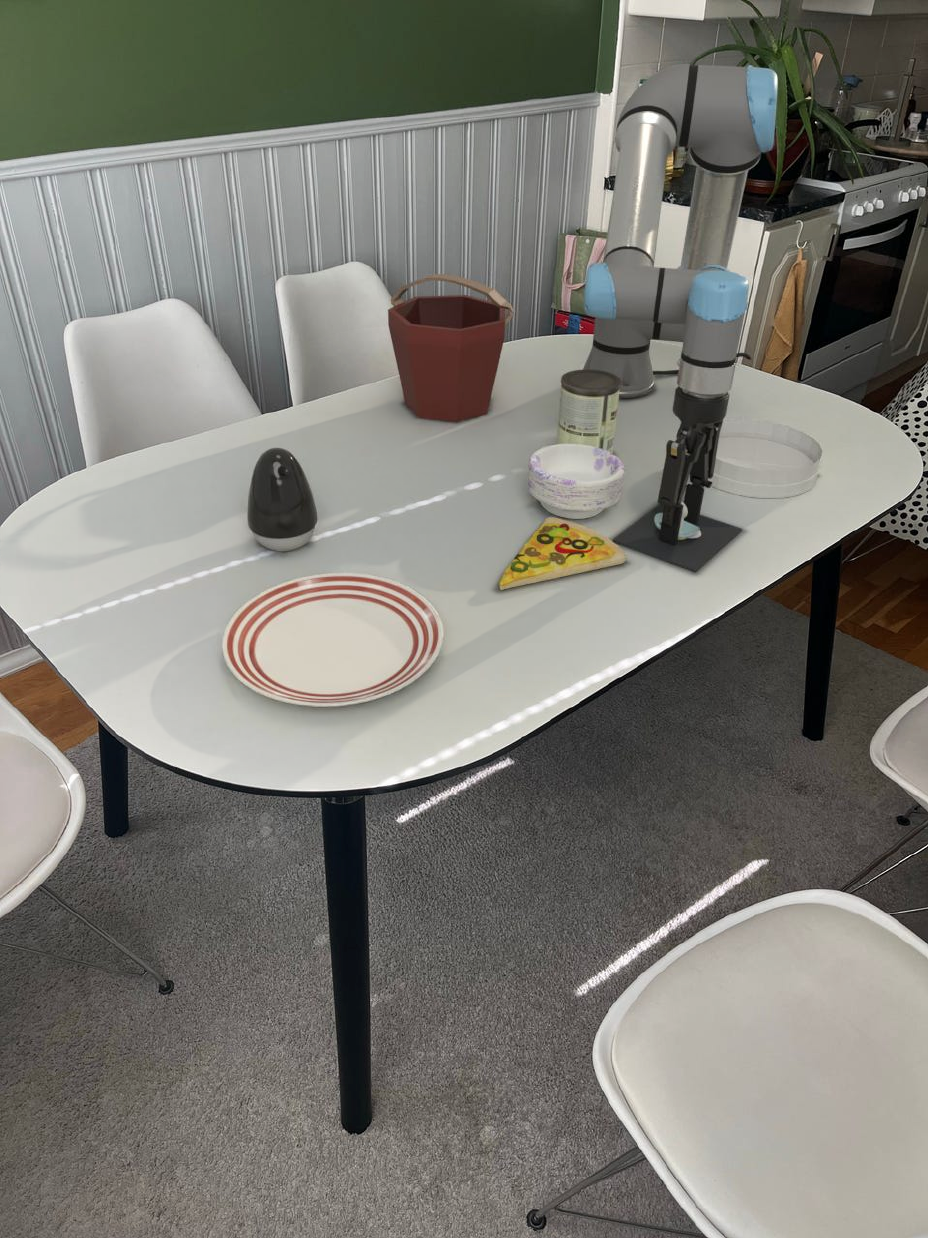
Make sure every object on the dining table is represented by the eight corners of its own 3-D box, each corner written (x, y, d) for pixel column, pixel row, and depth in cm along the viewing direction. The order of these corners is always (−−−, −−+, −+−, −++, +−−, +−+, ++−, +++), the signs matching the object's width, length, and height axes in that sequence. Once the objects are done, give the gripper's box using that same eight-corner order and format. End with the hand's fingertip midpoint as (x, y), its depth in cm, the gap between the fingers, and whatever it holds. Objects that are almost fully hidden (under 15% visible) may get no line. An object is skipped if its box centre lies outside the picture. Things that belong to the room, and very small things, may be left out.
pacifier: (670, 519, 150) (647, 530, 146) (677, 483, 146) (653, 494, 143) (709, 537, 146) (686, 548, 142) (717, 500, 142) (693, 511, 139)
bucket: (530, 407, 188) (538, 278, 174) (457, 440, 174) (460, 303, 160) (438, 376, 201) (439, 254, 187) (364, 405, 187) (359, 275, 173)
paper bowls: (637, 506, 154) (644, 461, 150) (581, 538, 145) (586, 492, 140) (564, 476, 162) (568, 433, 158) (506, 505, 153) (509, 461, 149)
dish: (682, 487, 160) (687, 460, 157) (692, 437, 177) (696, 411, 175) (819, 506, 155) (826, 478, 152) (815, 452, 173) (821, 426, 170)
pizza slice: (632, 559, 140) (635, 542, 138) (539, 613, 128) (541, 594, 126) (553, 522, 149) (555, 505, 147) (460, 569, 137) (460, 551, 135)
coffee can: (555, 441, 175) (561, 367, 167) (611, 444, 174) (620, 370, 166) (554, 465, 166) (560, 388, 158) (613, 468, 165) (622, 391, 157)
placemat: (661, 504, 155) (662, 502, 155) (741, 530, 148) (742, 528, 148) (612, 541, 144) (612, 539, 144) (695, 572, 137) (696, 570, 137)
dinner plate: (450, 717, 110) (450, 695, 108) (210, 727, 107) (206, 704, 106) (437, 590, 132) (437, 569, 130) (238, 595, 130) (235, 575, 128)
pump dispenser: (263, 566, 136) (251, 470, 128) (242, 534, 144) (230, 442, 135) (329, 551, 140) (322, 457, 132) (305, 520, 148) (297, 430, 139)
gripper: (708, 364, 141) (685, 503, 154) (646, 401, 128) (626, 549, 141) (756, 376, 137) (727, 517, 150) (696, 415, 124) (671, 565, 137)
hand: (678, 532), depth 146 cm, fingers closed on pacifier, 6 cm apart
